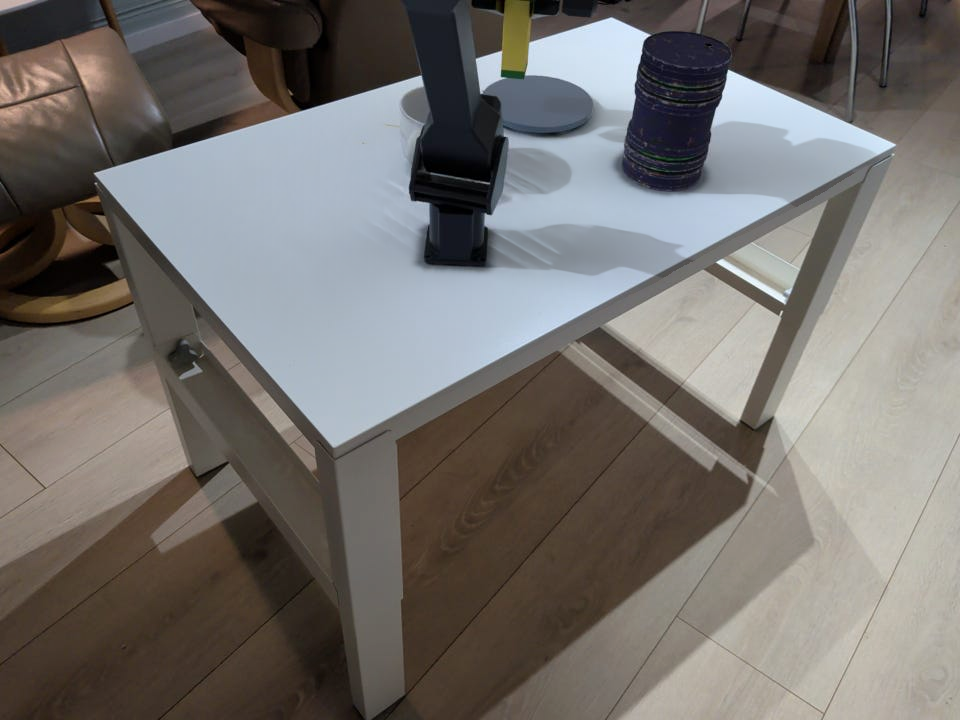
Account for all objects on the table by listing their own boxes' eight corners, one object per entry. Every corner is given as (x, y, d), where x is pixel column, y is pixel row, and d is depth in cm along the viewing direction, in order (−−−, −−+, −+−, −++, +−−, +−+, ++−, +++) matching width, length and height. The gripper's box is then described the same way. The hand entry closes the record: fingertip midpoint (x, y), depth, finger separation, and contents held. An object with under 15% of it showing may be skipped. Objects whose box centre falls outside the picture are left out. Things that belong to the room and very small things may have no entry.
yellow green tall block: (527, 64, 104) (536, -47, 95) (524, 79, 101) (532, -34, 92) (504, 62, 104) (511, -49, 95) (500, 77, 101) (506, -36, 92)
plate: (595, 140, 102) (597, 130, 101) (478, 134, 102) (479, 124, 101) (588, 87, 113) (589, 77, 112) (482, 82, 113) (483, 72, 112)
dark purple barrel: (649, 198, 93) (676, 74, 82) (604, 158, 99) (624, 37, 89) (718, 181, 96) (752, 59, 86) (671, 143, 102) (697, 25, 92)
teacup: (438, 134, 102) (437, 74, 96) (508, 162, 97) (512, 100, 92) (365, 180, 93) (360, 117, 88) (439, 213, 89) (438, 148, 83)
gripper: (614, -124, 83) (602, -44, 98) (437, -138, 84) (453, -57, 100) (601, -18, 83) (591, 45, 98) (423, -34, 84) (441, 31, 100)
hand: (519, 13), depth 99 cm, fingers closed on yellow green tall block, 3 cm apart
